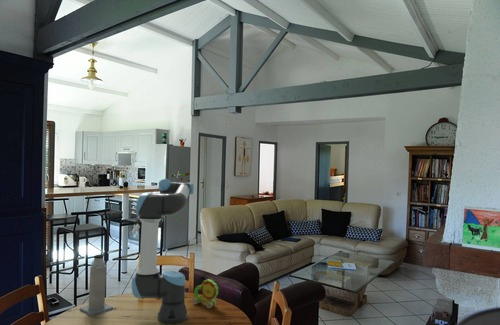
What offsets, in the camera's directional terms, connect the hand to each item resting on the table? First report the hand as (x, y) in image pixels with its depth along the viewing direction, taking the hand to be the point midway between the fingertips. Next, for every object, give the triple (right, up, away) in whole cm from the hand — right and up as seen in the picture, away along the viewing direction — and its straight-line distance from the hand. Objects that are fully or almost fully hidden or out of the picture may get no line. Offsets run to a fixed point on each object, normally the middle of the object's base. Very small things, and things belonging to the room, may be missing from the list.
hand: (141, 234), depth 206 cm
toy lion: (+41, -39, -10) cm, 57 cm away
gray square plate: (-18, -36, -21) cm, 45 cm away
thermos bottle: (-18, -35, -21) cm, 45 cm away
